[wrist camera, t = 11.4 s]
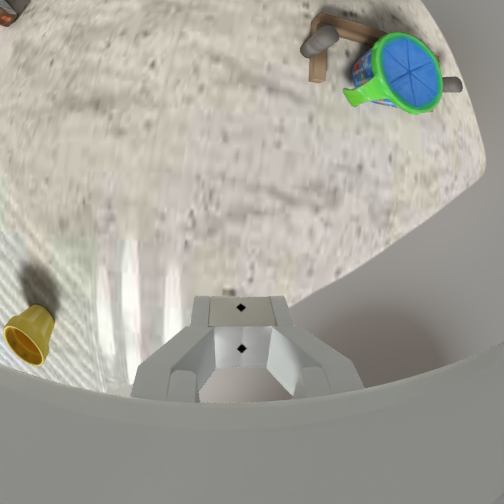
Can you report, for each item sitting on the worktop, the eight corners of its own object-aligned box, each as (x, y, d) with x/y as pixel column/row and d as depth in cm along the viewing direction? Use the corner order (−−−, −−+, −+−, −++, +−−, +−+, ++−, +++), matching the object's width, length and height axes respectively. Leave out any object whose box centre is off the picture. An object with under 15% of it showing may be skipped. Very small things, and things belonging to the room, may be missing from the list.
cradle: (301, 20, 26) (319, -2, 19) (429, 62, 29) (461, 58, 22) (298, 79, 30) (317, 68, 23) (428, 114, 33) (461, 116, 26)
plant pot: (62, 310, 42) (41, 343, 34) (61, 342, 46) (45, 374, 37) (23, 288, 40) (-1, 316, 31) (26, 322, 43) (6, 350, 34)
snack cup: (393, 39, 27) (433, 25, 18) (420, 97, 32) (463, 97, 23) (312, 63, 29) (341, 45, 20) (346, 129, 34) (384, 132, 25)
